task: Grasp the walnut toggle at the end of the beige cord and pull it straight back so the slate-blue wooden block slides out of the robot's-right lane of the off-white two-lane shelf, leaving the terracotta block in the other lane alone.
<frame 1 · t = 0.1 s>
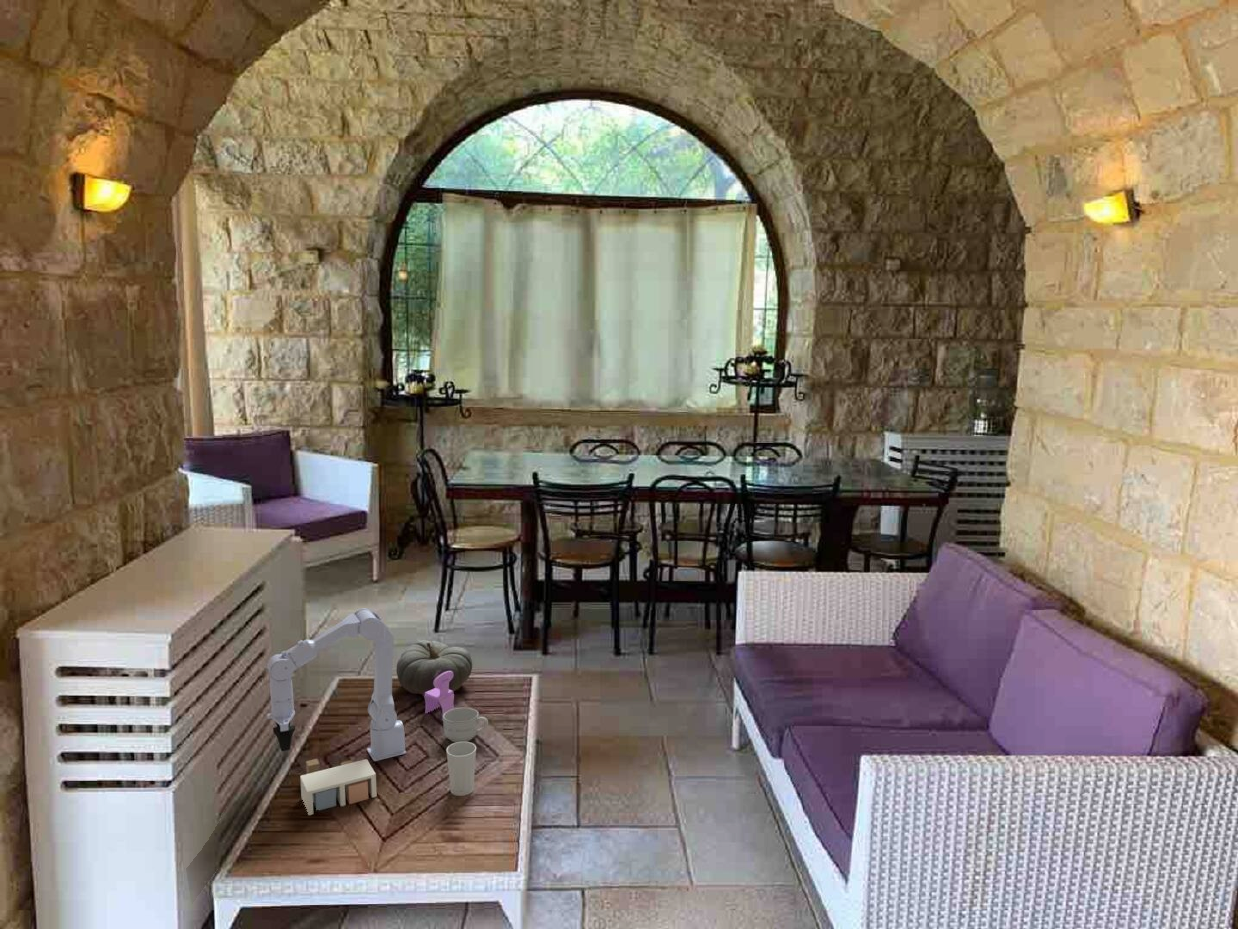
hand: (284, 743, 239), 10 cm above the table, fingers open, 7 cm apart
toy chair: (440, 714, 279), on the table
gourd: (435, 688, 298), on the table
cup: (462, 790, 235), on the table
teacup: (465, 739, 263), on the table
shelf: (339, 797, 231), on the table
terracotta block: (356, 797, 231), on the table
blue block: (324, 803, 228), on the table
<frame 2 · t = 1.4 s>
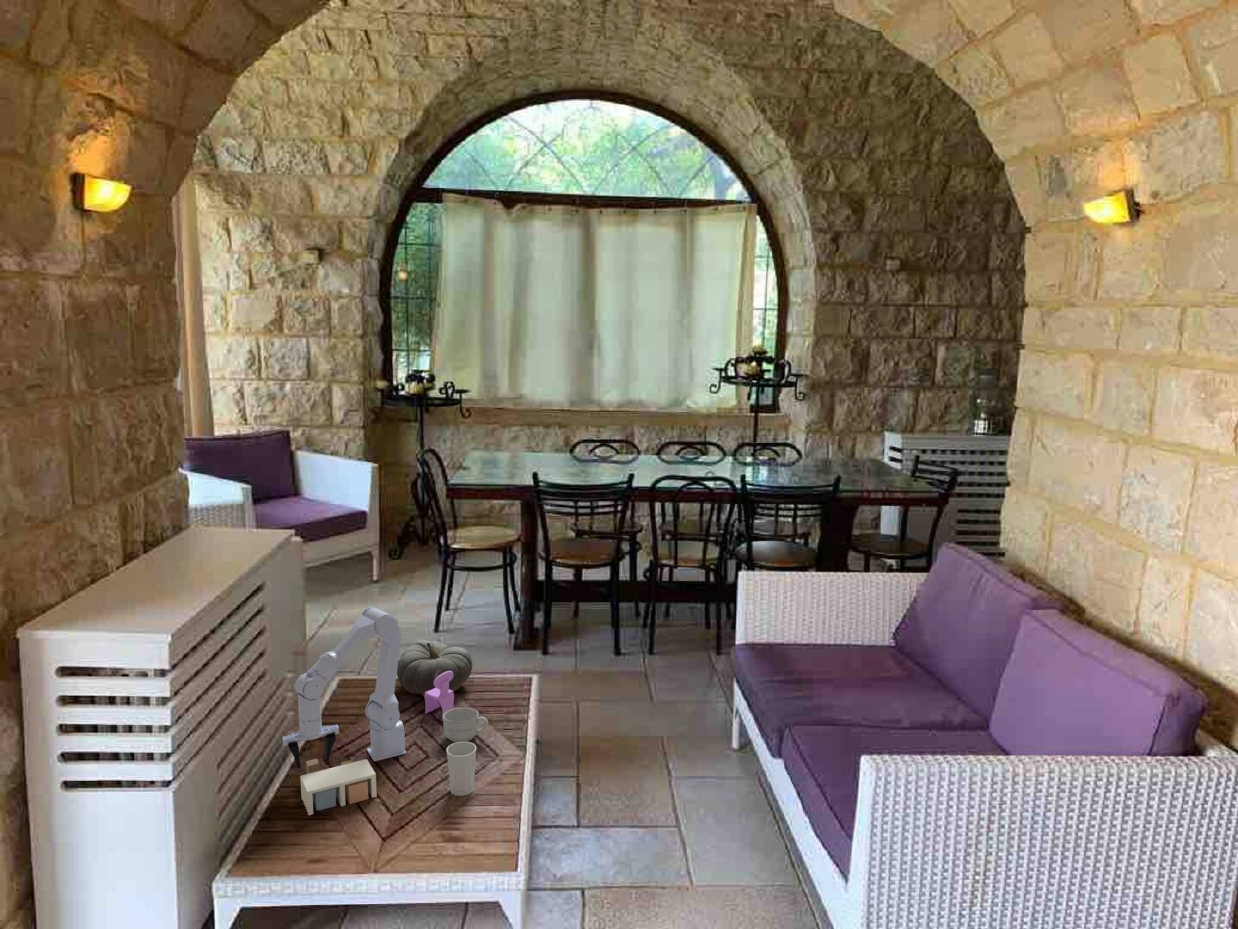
hand: (312, 763, 238), 5 cm above the table, fingers open, 7 cm apart
nothing on the table moved.
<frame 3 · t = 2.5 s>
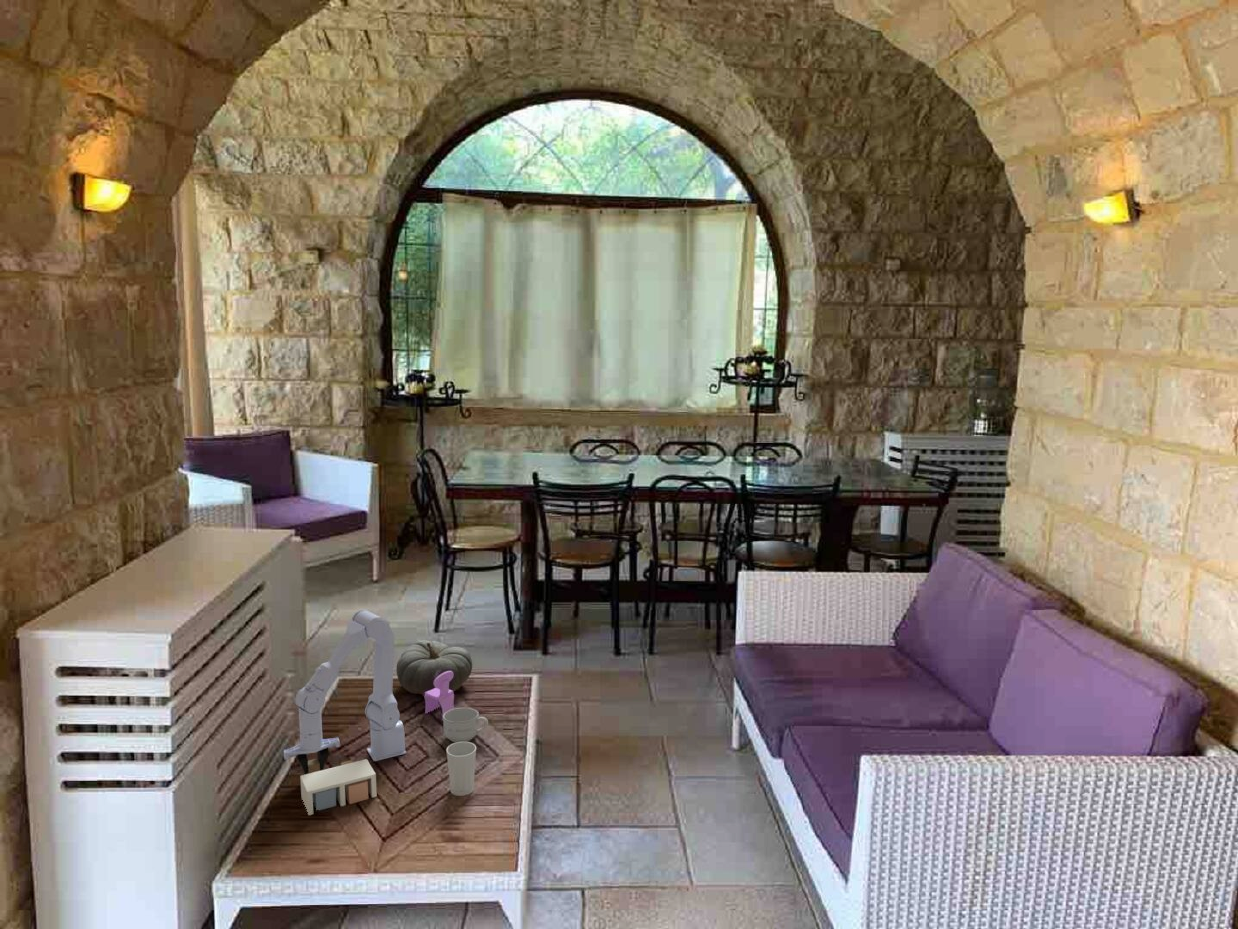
hand: (313, 776, 238), 1 cm above the table, fingers closed on blue block, 3 cm apart
blue block: (324, 803, 228), on the table, touching gripper
everything else where it was.
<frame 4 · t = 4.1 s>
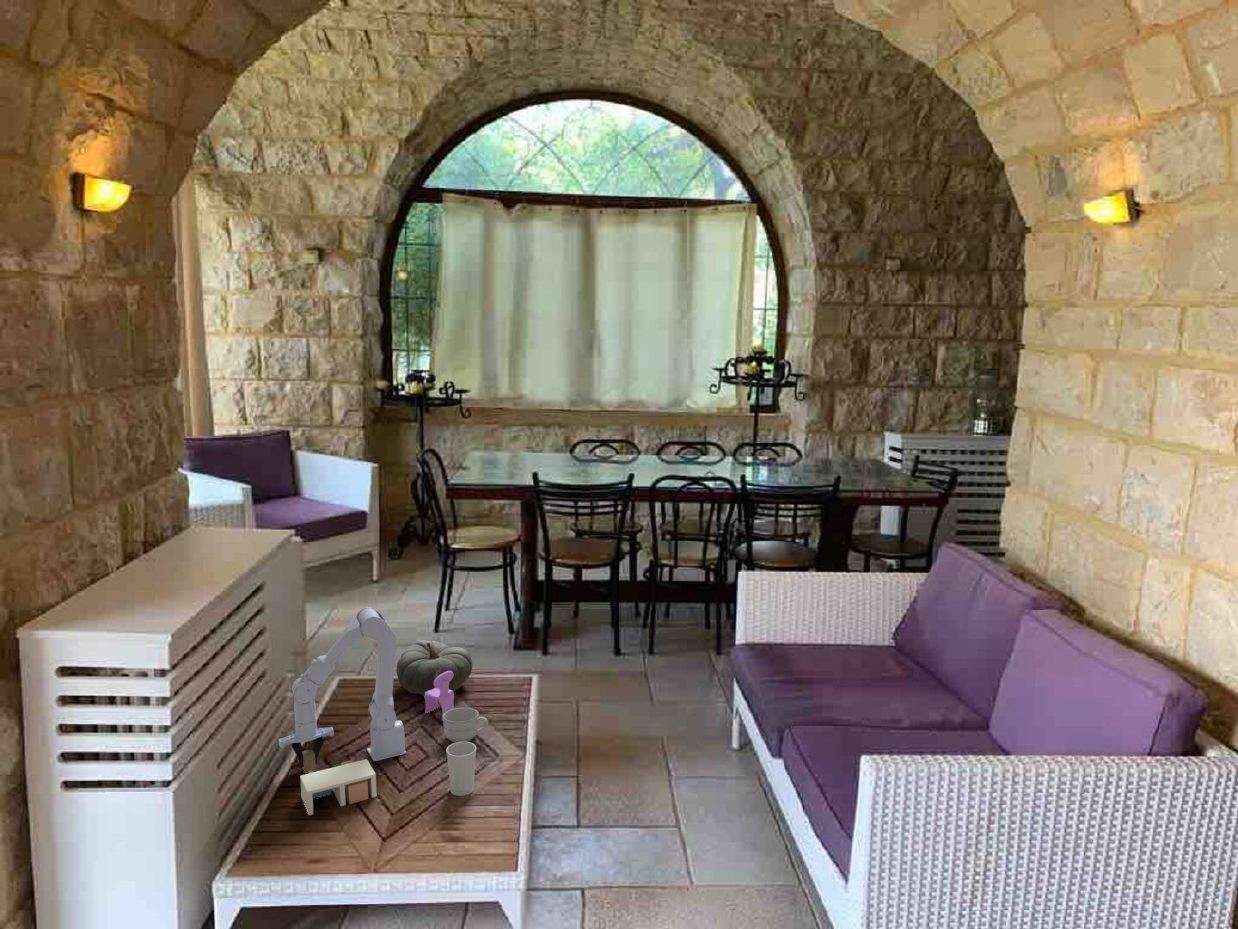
hand: (308, 764, 245), 1 cm above the table, fingers closed on blue block, 3 cm apart
blue block: (319, 792, 233), on the table, touching gripper
everything else where it was.
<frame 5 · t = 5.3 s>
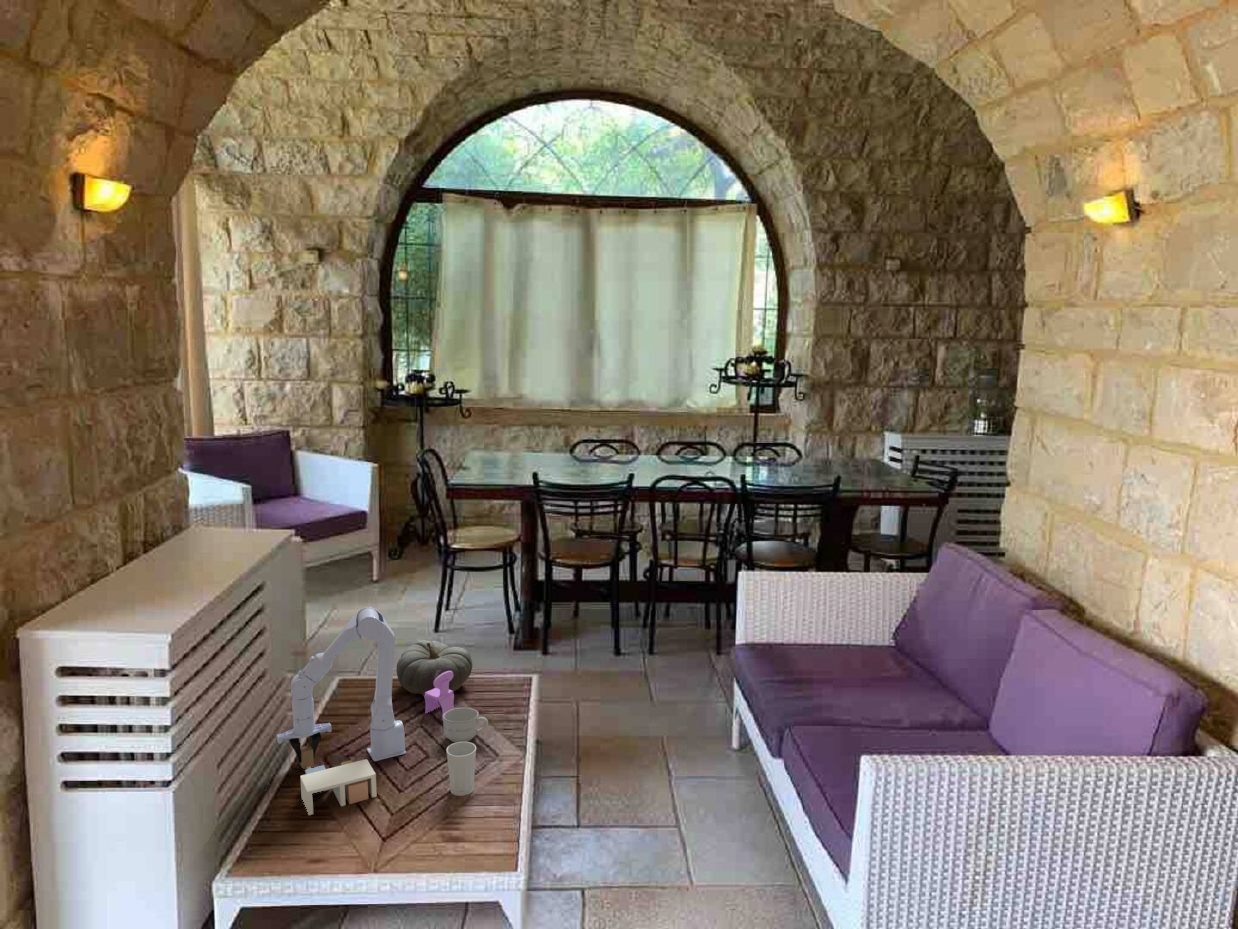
hand: (306, 759, 247), 1 cm above the table, fingers closed on blue block, 3 cm apart
blue block: (317, 788, 235), on the table, touching gripper
everything else where it was.
when the fingers open (1 cm above the table, at t = 5.8 s): blue block stays where it is, on the table.
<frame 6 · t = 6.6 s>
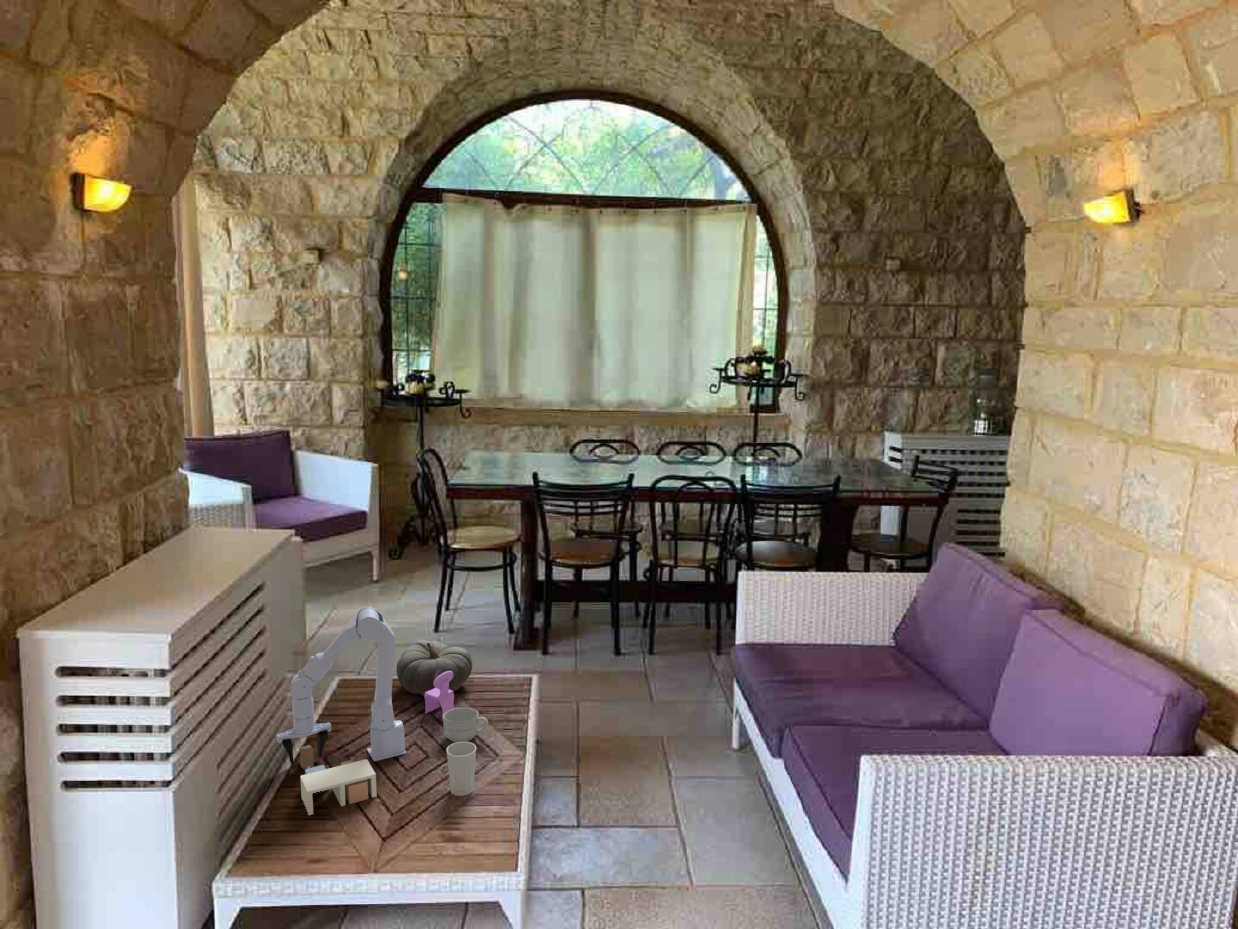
hand: (305, 759, 247), 1 cm above the table, fingers open, 7 cm apart
blue block: (317, 788, 235), on the table
everything else where it was.
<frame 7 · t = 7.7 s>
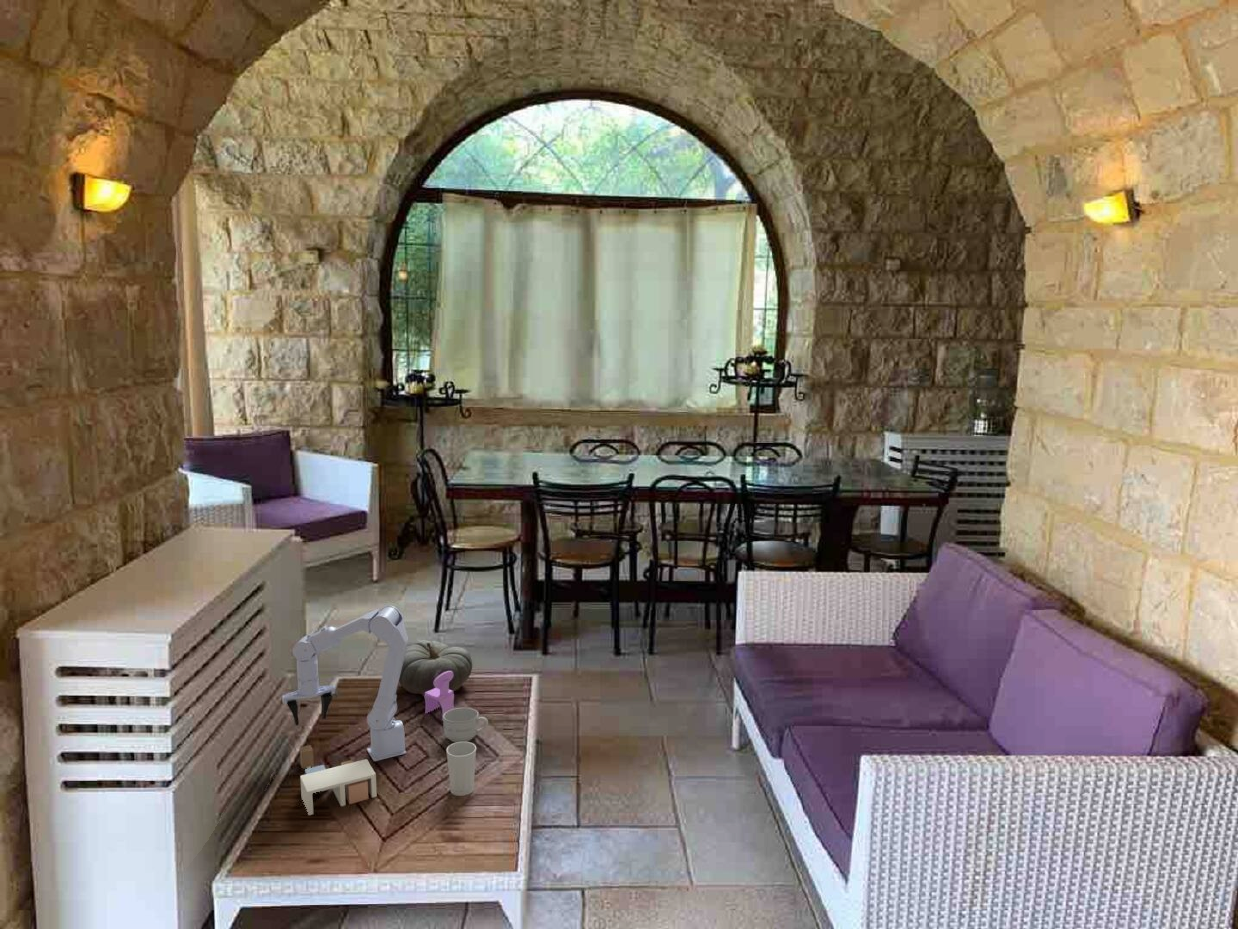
hand: (310, 720, 253), 9 cm above the table, fingers open, 7 cm apart
nothing on the table moved.
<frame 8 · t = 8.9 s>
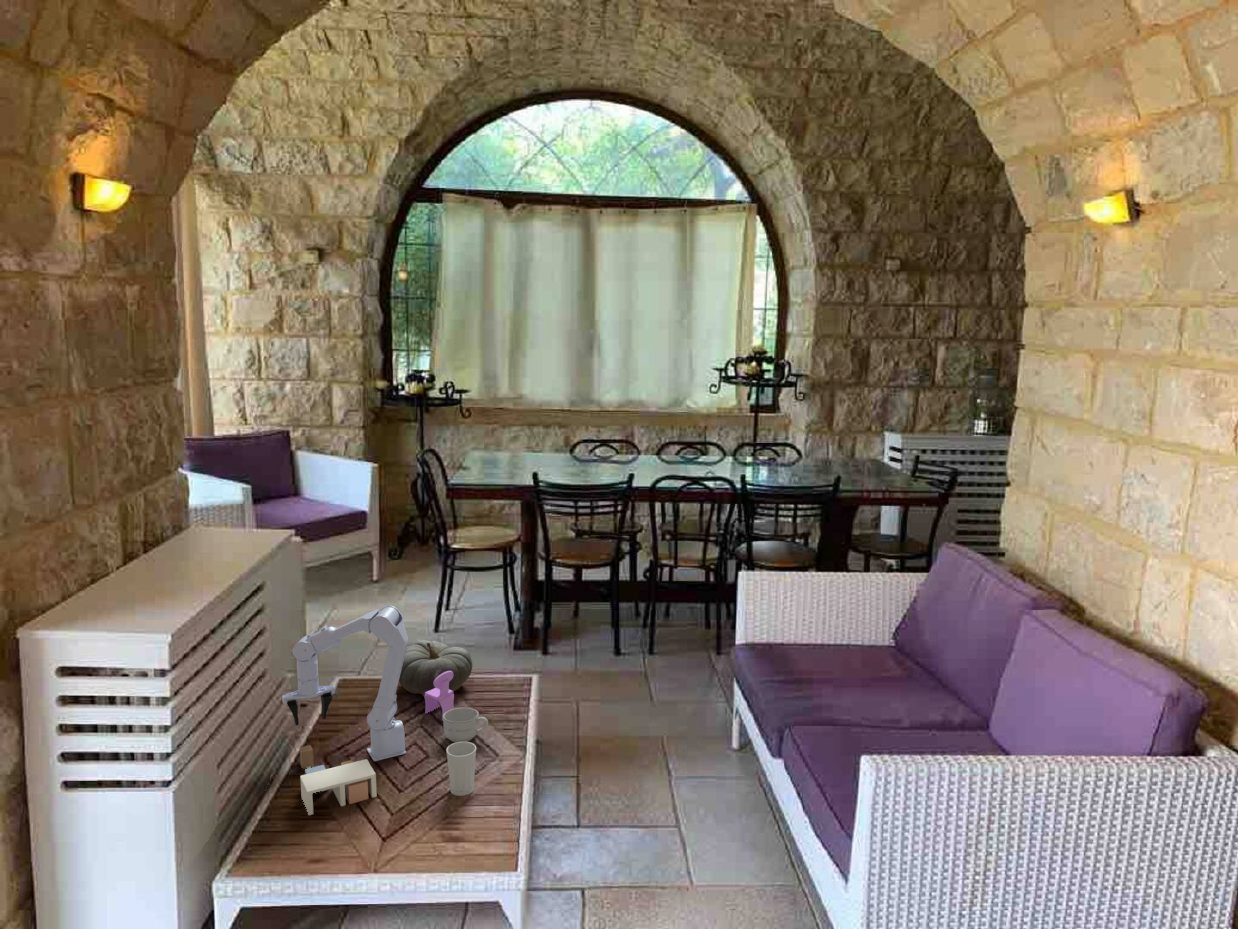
hand: (310, 720, 253), 9 cm above the table, fingers open, 7 cm apart
nothing on the table moved.
at the end: blue block inside the target area (5.8 cm from its centre), on the table; blue block tilted 0°; terracotta block moved 0.0 cm from its start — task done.
